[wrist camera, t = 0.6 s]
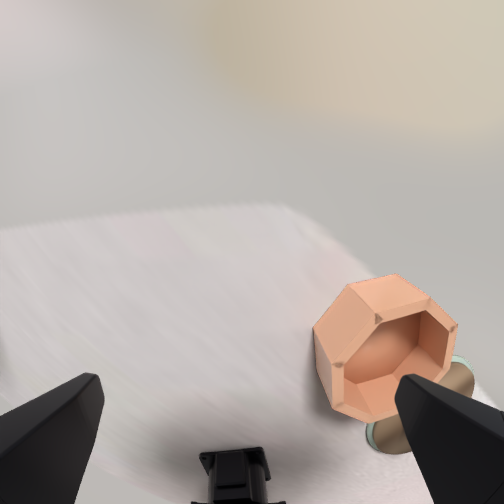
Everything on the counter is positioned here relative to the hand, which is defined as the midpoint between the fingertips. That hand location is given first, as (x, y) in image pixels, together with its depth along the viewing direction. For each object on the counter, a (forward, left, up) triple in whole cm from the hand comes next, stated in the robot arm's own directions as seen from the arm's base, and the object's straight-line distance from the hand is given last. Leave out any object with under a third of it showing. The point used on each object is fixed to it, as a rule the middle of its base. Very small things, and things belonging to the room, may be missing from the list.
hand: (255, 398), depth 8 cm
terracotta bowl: (-8, -9, -14) cm, 18 cm away
